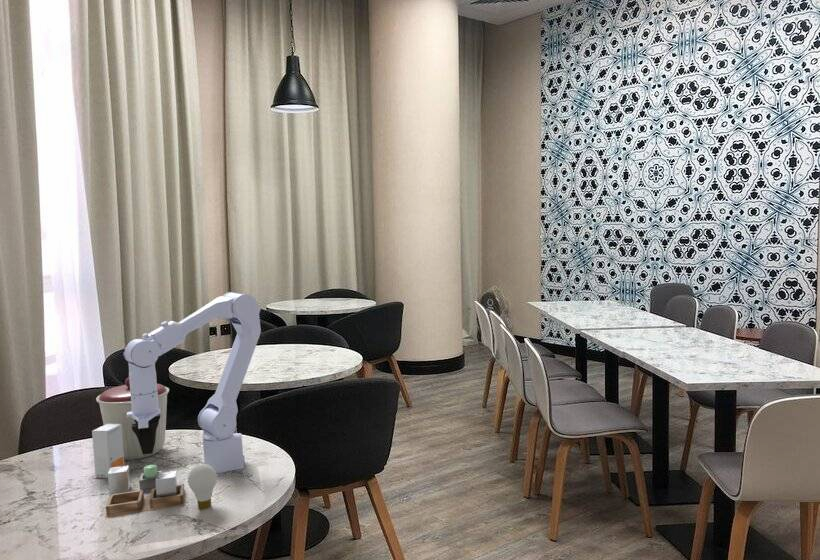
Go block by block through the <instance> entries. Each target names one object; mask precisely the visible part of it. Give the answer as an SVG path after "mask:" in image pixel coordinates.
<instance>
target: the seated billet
mask: <svg viewBox="0 0 820 560" xmlns="http://www.w3.org/2000/svg"><path fill="white" fill-rule="evenodd" d="M177 477H178V476H177V471H176V470H173V471H165V472H162V473H157V475H156V479H155V482H156V494H157V498H160V497H167V496H174V495H178V490H177V485H178V480H177Z"/></svg>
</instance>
